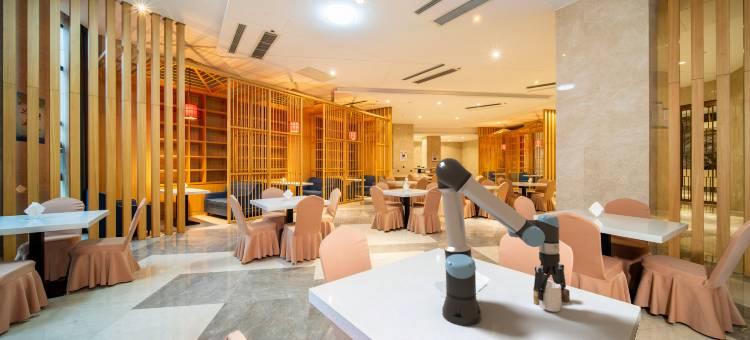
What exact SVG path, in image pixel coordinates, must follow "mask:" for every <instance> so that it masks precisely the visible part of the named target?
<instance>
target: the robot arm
mask: <svg viewBox="0 0 750 340" xmlns="http://www.w3.org/2000/svg"><path fill="white" fill-rule="evenodd" d="M435 177H436V183H437V190H438V191H439V192H440V193H441V198H442V208H443V218H444V226H445V235H446V246H445V247H444V257H445V265H444V267H445V289H446V291H445V293H446V294H445V299H444V301H443V302H444V303H443V306H442V308H441V309H442V310H441V311H442V316H443V318H444V319H445V320H447V322H449V323H453V324H454V325H455V324H456V325H461V326H472V325H476V324H478V323H480V322H481V321H482V311H481V308H480V305H479V302H478V300H477V285H476V282H477V281H476V270H477V267H476V262H475V259H473V255H472V247H471V246H470V245H469V244H468V243H467V233H466V224H465V217H464V216H465V215H464V214H465V213H464V206H463V197H462V195H464V196H465V197H466V198H468V200H470V201H471V202H473V203H474V204H475V205H477V207H478V208H479V209H480V208H481V210H483V211H484V212H486V213H487V214H488V215H489V216H491V217H492V218H493V219H494V220H496V221H497V222H498V223H500V225H502V226H504V228H506V229H507V233H508V235H509V237H511V238H519V239H520V240H521V241H522V242H523V243H525V244H526V245H527V246H529V247H531V248H537V247H538V250H539V252H538V259H539V261H540V265H539V266H534V272H535V273H534V282H533V283H534V284H533V287H534V290H535V291H537V292H538V299H539V304H538V305H539V307H540V308H542V309H544V310H545V309H546V293H544V292H545V288H546V284H547V281H549V278H552V282H554V283H556V284H560V285H561V297H562V291H564V288H565V289H567V283H566V277H565V275H566V274H565V265H564V264H562V263H560V262H561V256H560V223H559V222H560V221H559V218H558V216H556V215H554V214H540V215H539V214H538V215H537V219H528V218H526V217H525V216H523V215H522V214H521V213H519V212H518V211H517V210H515V209H514V208H513V207H512V206H510V205H509V204H508V203H506V202H505V201H504V200H503V199H501V198H500V197H498V196H497V195H496V194H495V193H494V192H492V191H490V190H489V189H488V188H487V187H486V186H484V185H482V183H480V182H479V181H477V180H476V179H475V178H474V175H473V174H472V173H471V172H470V171H469V170H468V169H467V168H466V167H464V166H463V165H462V163H461V162H460V161H459V160H457V159H456V158H454V157H453V158H452V157H451V158H450V157H446V158H444V159H441V160H440V161H439V162H438V163H437V164H436V167H435ZM541 289H542V290H541ZM562 305H563V304H562V302H561V304H560V307H562Z"/></svg>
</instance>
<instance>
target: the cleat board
mask: <svg viewBox="0 0 750 340" xmlns="http://www.w3.org/2000/svg"><path fill="white" fill-rule="evenodd" d="M532 288H533V290H532V291H533V304H534V305H537V306H538V305H539V299H538V292H537V291H535V290H534V286H533V287H532ZM570 297H571V296H570V290H569V289H568V288H564V291H562V297H561V302H564V303H569V302H570Z"/></svg>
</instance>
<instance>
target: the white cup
mask: <svg viewBox="0 0 750 340" xmlns="http://www.w3.org/2000/svg"><path fill="white" fill-rule="evenodd" d="M541 290H542V289H541ZM544 293H546V309H544V310H546V311H548V312H554V313H555V312H557V313H558V312H560V311H561V306H560V304H561V303H562V301H561V285H560V284H556V283H554V281H553V280H548V281H547V284H546V288H545V292H544Z"/></svg>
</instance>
